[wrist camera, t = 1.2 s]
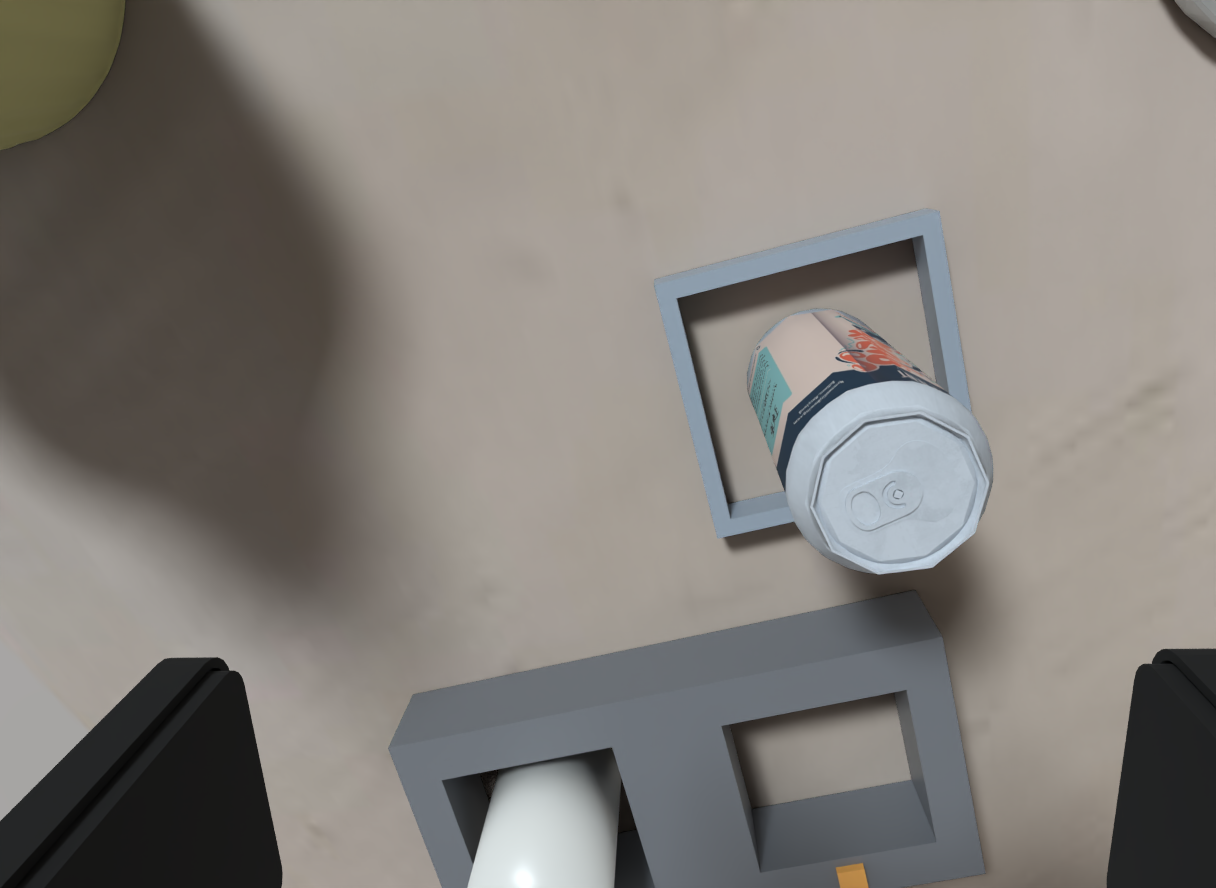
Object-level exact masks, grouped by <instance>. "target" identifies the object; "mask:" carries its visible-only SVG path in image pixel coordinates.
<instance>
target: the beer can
mask: <svg viewBox="0 0 1216 888" xmlns="http://www.w3.org/2000/svg"><path fill="white" fill-rule="evenodd" d="M747 389H748V394H749V396H750V399H751V402H752V405H753V407H754V409H755V411H756V414H757V417H758V419H759V422H760V425H761V428H762V430H763V433H764V436H765V438H766V441H767V444H768V447H769V449H770V452H771V455H772V458H773V460H774V463H775V466H776V469H777V471H778V474H779V477H780V479H781V482H782V485H783V488H784V490H785V493H786V498H787V502H788V505H789V508H790V510H791V513H792V516H793V519H794V521H795V524H796V525H797V527H798V528H799V530H800V531H801V533H802V535H803V536H804V538H805V539H806V540H807V541H808V542H809V543H810V544H811V545H812V546H813V547H815V548H816V549H817V550H818V551H819V552H820V553H821V554H822V555H823V556H825V557H827V558H828V559H830V560H832V561H834V562H836V563H839V564H841V565H843V566H845V567H847V568H849V569H853V570H857V571H861V572H865V573H876V574H886V573H900V572H905V571H912V570H918V569H926V568H933V567H934V566H935V565H936V564H937V563H939V562H940V561H941V560H942V559H944V558H945V557H946V556H947V555H949V554H950V553H951V552H952V551H954V550H955V549H956V548H957V547H959V546H960V545H961V544H962V543H964V542H965V541H966V540H967V539H968V538H970V537H971V536H972V535H973V534H975V531H976V528H977V524H978V522H979V520H980V519H981V517H982V515H983V513H984V511H985V508H986V505H987V501H988V498H989V495H990V491H991V488H992V483H993V458H992V454H991V450H990V447H989V443H988V440H987V437H986V435H985V433H984V432H983V430H982V428H981V426H980V424H979V423H978V421H977V419H976V418H975V417H974V416H973V414H972V413H971V412H970V411H969V410H968V409H967V408H966V407H965V406H963V405H962V404H961V403H960V402H959V401H957V400H956V399H955V398H954V397H952V396H951V395H950V394H949V393H948V392H946V391H945V390H944V389H943V388H942V387H940V386H939V385H938V384H937V383H936V382H934V381H933V380H932V379H931V378H930V377H928V376H927V375H926V374H925V373H923V372H922V371H921V370H920V369H919V368H917V367H916V366H915V365H914V364H913V363H911V362H910V361H909V360H908V359H907V358H905V357H904V356H903V355H902V354H901V353H899V352H898V351H897V350H896V349H894V348H893V347H892V346H891V345H890V344H888V343H887V342H886V341H885V340H884V339H882V338H881V337H880V336H879V335H878V334H876V333H875V332H874V331H873V330H872V329H870V328H869V327H868V326H867V325H866V324H864V323H863V322H862V321H860V320H859V319H857V318H855V317H853V316H851V315H849V314H846V313H844V312H842V311H838V310H833V309H811V310H806V311H800V312H798V313H795V314H793V315H790V316H788V317H786V318H784V319H783V320H781V321H779V322H778V323H776V324H775V325H774V326H773V327H772V328H771V329H770V330H768V331H767V332H766V333H765V335H764V336H763V337H762V339H761V340H760V341H759V343H758V344H757V345H756V347H755V349H754V352H753V354H752V356H751V360H750V364H749V368H748V372H747Z"/></svg>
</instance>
